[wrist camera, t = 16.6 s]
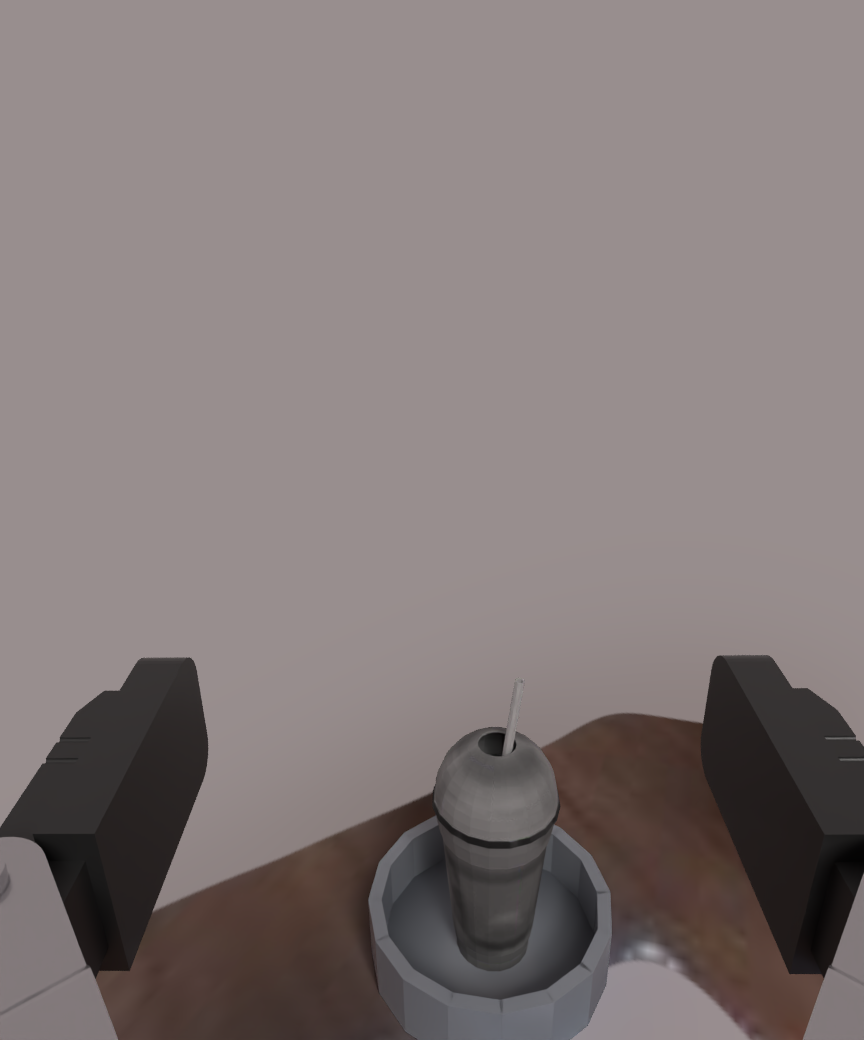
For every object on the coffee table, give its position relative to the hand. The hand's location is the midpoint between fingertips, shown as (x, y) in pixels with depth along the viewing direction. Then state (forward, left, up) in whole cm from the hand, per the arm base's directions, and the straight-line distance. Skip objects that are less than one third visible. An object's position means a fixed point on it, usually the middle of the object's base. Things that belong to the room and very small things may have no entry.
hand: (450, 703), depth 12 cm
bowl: (+11, -22, -38) cm, 45 cm away
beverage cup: (+11, -22, -37) cm, 45 cm away
